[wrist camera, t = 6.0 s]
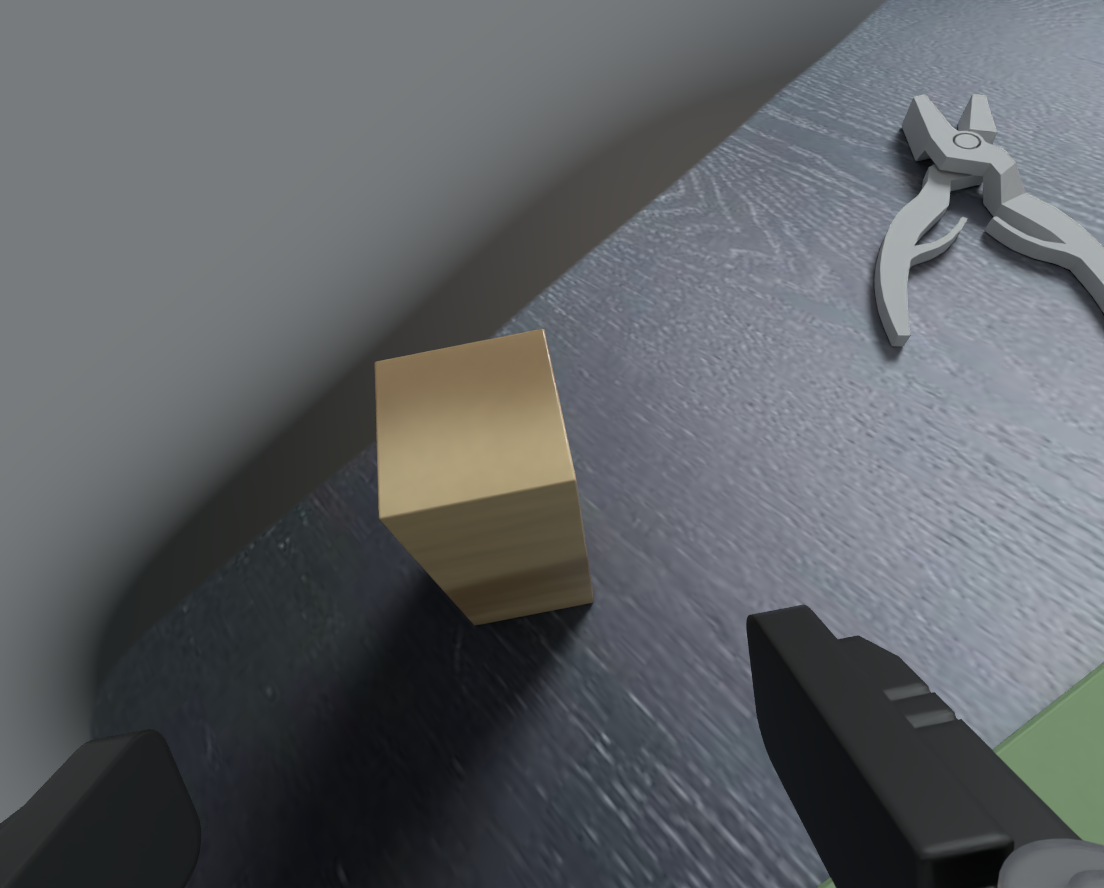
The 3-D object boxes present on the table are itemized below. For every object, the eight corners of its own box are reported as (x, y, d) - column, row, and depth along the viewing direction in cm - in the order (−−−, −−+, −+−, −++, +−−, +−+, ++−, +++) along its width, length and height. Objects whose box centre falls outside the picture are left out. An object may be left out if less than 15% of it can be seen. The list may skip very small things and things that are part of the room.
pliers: (900, 321, 25) (847, 97, 32) (885, 346, 26) (837, 126, 33) (1175, 322, 23) (1055, 89, 31) (1144, 348, 25) (1037, 118, 32)
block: (594, 602, 22) (576, 480, 13) (474, 626, 22) (378, 519, 13) (572, 493, 24) (544, 327, 16) (462, 514, 24) (373, 361, 16)
